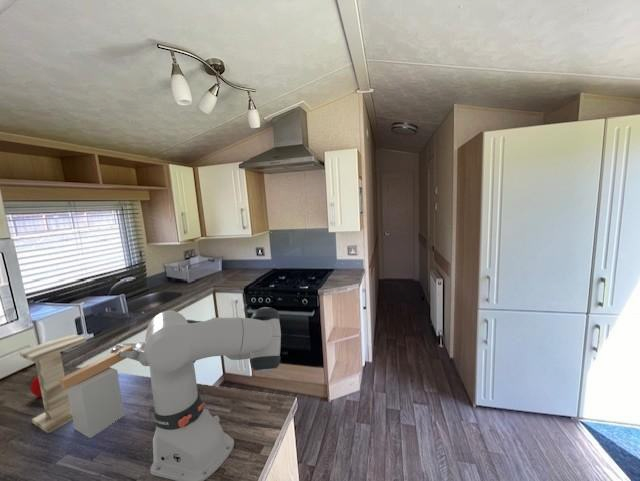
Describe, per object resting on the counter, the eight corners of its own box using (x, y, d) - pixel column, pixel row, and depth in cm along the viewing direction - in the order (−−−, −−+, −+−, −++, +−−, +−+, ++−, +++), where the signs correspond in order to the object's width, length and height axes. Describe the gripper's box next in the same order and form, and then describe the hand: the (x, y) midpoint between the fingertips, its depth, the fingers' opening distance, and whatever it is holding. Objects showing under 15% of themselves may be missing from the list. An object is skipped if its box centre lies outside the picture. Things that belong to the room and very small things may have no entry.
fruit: (56, 396, 108) (52, 373, 107) (26, 403, 105) (21, 379, 104) (68, 383, 117) (64, 361, 115) (41, 389, 113) (37, 366, 112)
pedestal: (124, 416, 95) (117, 369, 93) (90, 438, 86) (81, 387, 84) (108, 408, 99) (101, 364, 97) (74, 428, 90) (65, 380, 88)
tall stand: (98, 405, 101) (86, 338, 98) (48, 433, 89) (33, 358, 86) (81, 397, 107) (70, 333, 104) (32, 422, 94) (18, 351, 91)
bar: (134, 354, 101) (132, 346, 100) (66, 389, 83) (63, 380, 83) (129, 352, 102) (127, 345, 102) (61, 387, 85) (58, 379, 84)
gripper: (166, 367, 103) (129, 367, 91) (134, 357, 112) (97, 356, 100) (171, 349, 105) (136, 347, 93) (140, 341, 114) (104, 338, 103)
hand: (116, 352), depth 97 cm, fingers open, 3 cm apart
